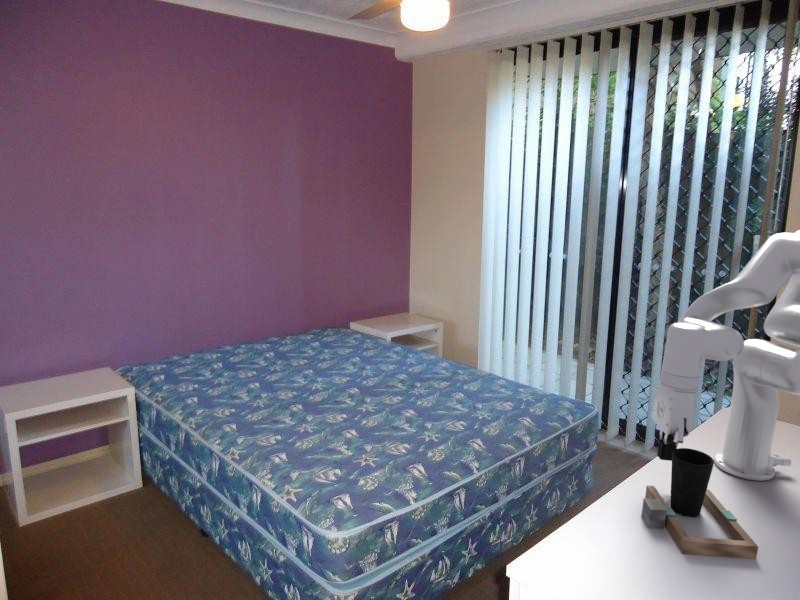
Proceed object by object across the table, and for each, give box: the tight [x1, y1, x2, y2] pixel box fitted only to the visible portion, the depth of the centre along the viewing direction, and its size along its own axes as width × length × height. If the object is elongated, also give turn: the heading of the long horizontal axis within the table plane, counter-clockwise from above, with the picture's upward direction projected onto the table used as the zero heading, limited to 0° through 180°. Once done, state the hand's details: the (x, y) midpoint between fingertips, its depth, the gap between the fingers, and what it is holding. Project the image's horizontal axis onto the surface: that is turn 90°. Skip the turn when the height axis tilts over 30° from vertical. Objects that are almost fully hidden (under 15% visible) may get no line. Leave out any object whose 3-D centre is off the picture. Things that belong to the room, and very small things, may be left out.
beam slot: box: [641, 485, 759, 560], centre depth 114 cm, size 17×20×4 cm
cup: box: [669, 447, 715, 518], centre depth 118 cm, size 8×8×12 cm
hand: (665, 458), depth 128 cm, fingers closed
